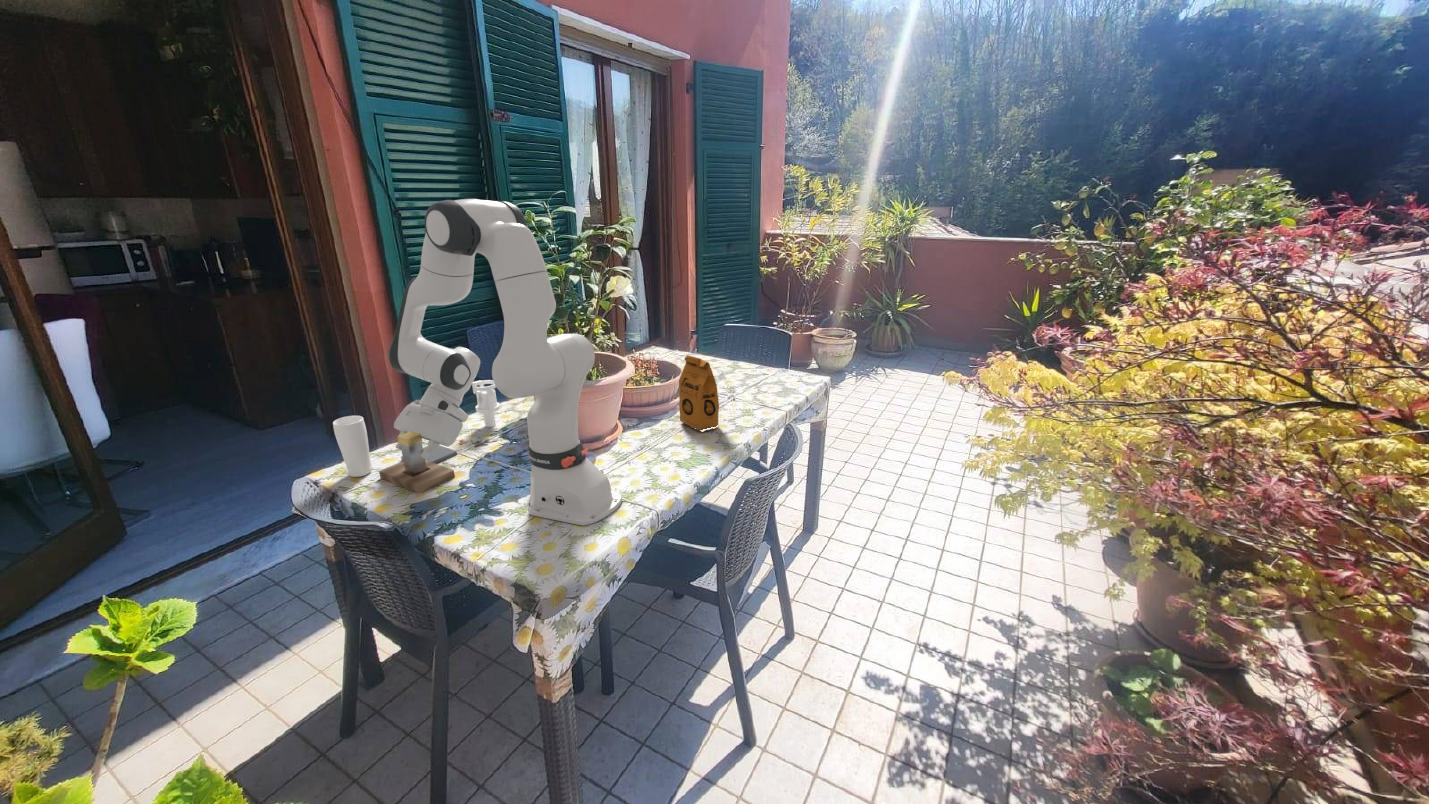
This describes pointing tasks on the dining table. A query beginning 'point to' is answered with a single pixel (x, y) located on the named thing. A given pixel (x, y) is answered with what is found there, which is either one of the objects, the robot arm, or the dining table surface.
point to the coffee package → (698, 394)
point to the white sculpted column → (486, 401)
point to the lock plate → (417, 476)
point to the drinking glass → (353, 444)
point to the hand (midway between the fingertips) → (410, 453)
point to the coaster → (440, 454)
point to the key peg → (412, 453)
